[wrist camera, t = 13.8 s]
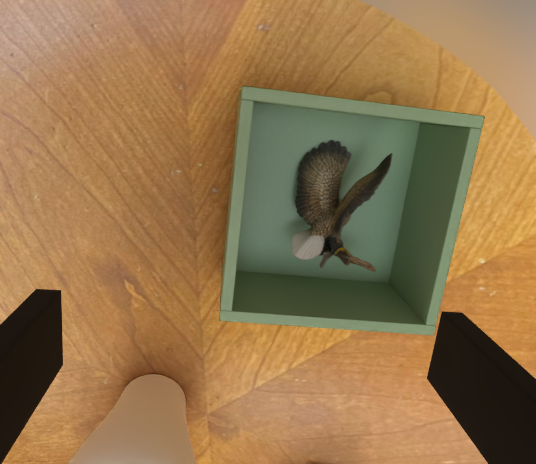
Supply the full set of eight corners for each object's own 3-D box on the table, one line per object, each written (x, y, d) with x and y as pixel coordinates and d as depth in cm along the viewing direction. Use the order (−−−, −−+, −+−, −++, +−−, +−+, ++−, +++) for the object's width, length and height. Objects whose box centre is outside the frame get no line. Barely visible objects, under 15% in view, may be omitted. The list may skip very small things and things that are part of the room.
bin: (239, 90, 36) (242, 85, 27) (427, 113, 37) (485, 116, 29) (221, 274, 40) (219, 321, 31) (392, 288, 41) (433, 335, 33)
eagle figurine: (389, 251, 38) (408, 147, 34) (362, 291, 32) (381, 172, 28) (306, 229, 41) (315, 131, 37) (269, 262, 36) (274, 151, 32)
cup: (218, 437, 44) (213, 576, 31) (110, 456, 44) (60, 604, 31) (199, 343, 41) (184, 452, 28) (83, 362, 41) (15, 482, 28)
